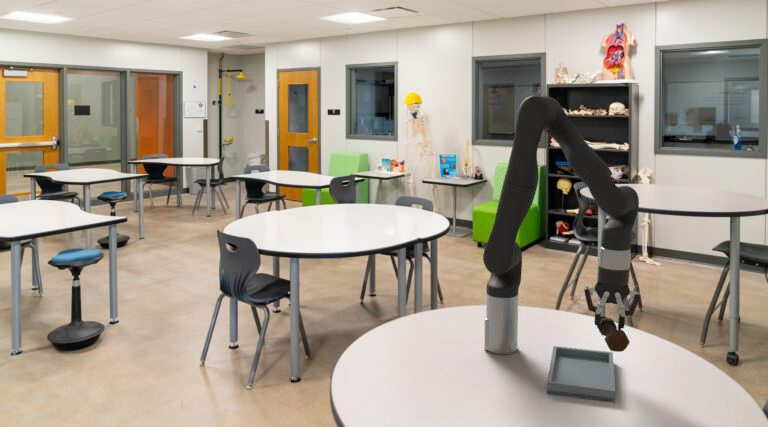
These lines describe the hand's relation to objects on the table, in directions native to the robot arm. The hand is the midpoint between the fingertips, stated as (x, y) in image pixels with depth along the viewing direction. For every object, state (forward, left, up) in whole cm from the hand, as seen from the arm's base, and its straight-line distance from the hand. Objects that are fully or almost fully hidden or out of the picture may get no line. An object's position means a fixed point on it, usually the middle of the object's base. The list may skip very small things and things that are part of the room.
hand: (608, 327), depth 155 cm
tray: (-6, 0, -14) cm, 16 cm away
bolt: (0, -1, -3) cm, 3 cm away
